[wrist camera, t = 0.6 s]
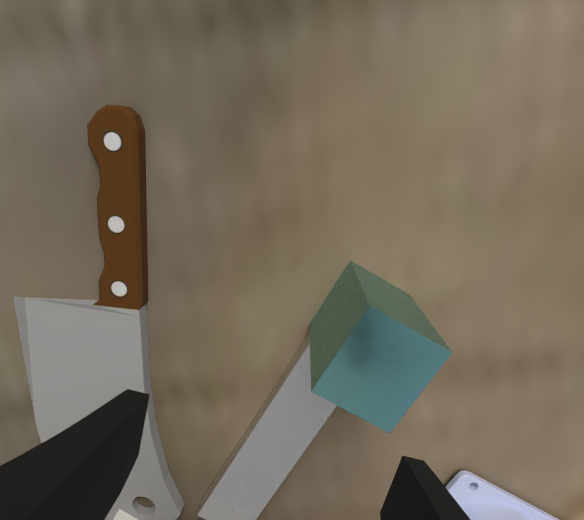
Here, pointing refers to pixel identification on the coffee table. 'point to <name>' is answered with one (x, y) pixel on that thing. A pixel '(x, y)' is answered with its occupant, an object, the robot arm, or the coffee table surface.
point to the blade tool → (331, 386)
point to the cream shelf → (123, 516)
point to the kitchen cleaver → (104, 321)
